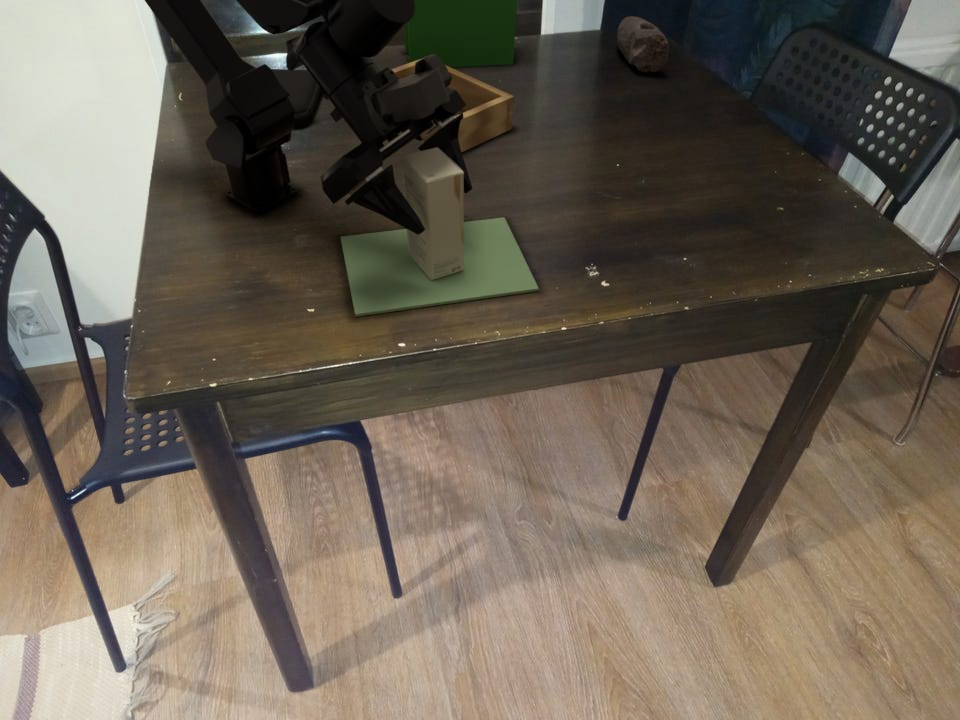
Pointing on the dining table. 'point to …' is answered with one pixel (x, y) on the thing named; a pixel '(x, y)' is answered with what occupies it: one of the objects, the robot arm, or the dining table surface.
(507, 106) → the frame
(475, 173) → the dining table surface
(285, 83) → the carrying case
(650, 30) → the perforated stone tool
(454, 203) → the cosmetic box
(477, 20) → the hardback book
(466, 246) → the mat
